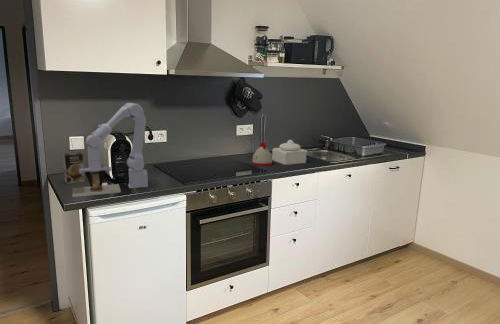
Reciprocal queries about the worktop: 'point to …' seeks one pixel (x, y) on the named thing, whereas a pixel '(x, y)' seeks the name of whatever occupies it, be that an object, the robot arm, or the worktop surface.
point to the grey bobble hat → (262, 156)
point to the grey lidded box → (289, 154)
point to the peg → (95, 181)
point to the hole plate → (88, 190)
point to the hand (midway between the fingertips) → (96, 186)
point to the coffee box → (73, 167)
